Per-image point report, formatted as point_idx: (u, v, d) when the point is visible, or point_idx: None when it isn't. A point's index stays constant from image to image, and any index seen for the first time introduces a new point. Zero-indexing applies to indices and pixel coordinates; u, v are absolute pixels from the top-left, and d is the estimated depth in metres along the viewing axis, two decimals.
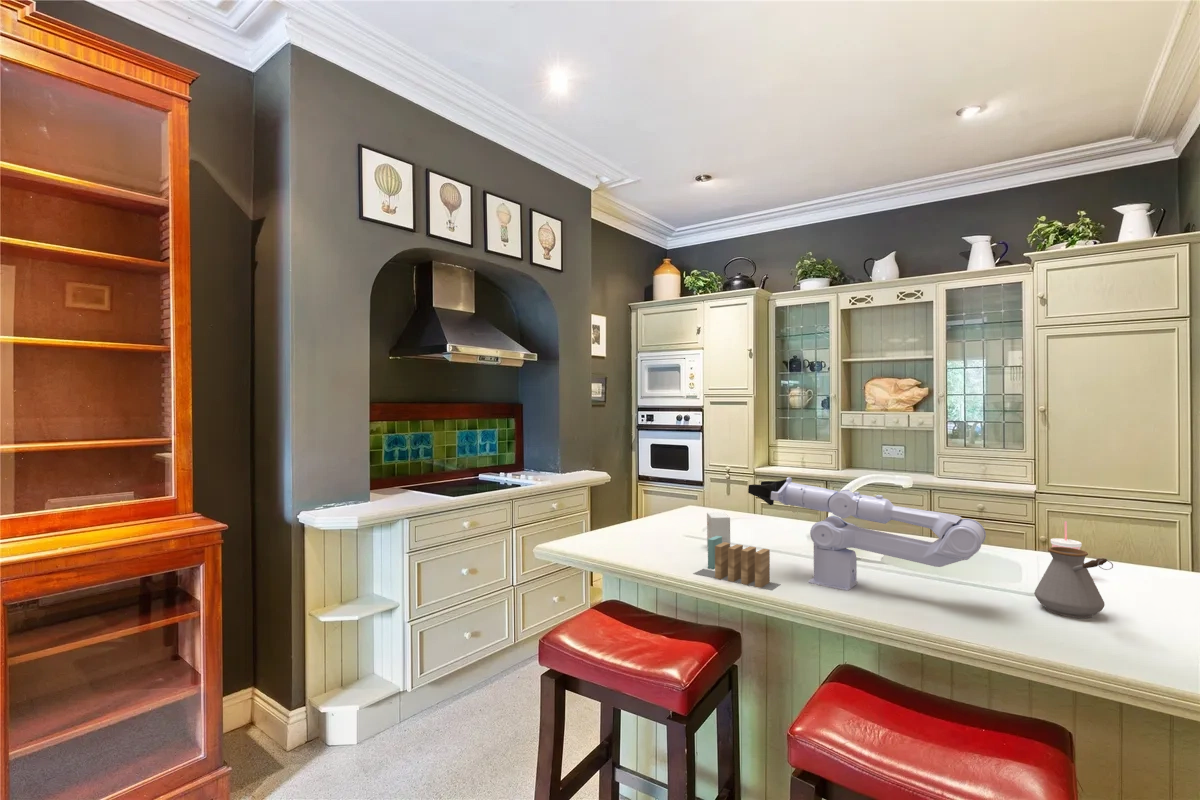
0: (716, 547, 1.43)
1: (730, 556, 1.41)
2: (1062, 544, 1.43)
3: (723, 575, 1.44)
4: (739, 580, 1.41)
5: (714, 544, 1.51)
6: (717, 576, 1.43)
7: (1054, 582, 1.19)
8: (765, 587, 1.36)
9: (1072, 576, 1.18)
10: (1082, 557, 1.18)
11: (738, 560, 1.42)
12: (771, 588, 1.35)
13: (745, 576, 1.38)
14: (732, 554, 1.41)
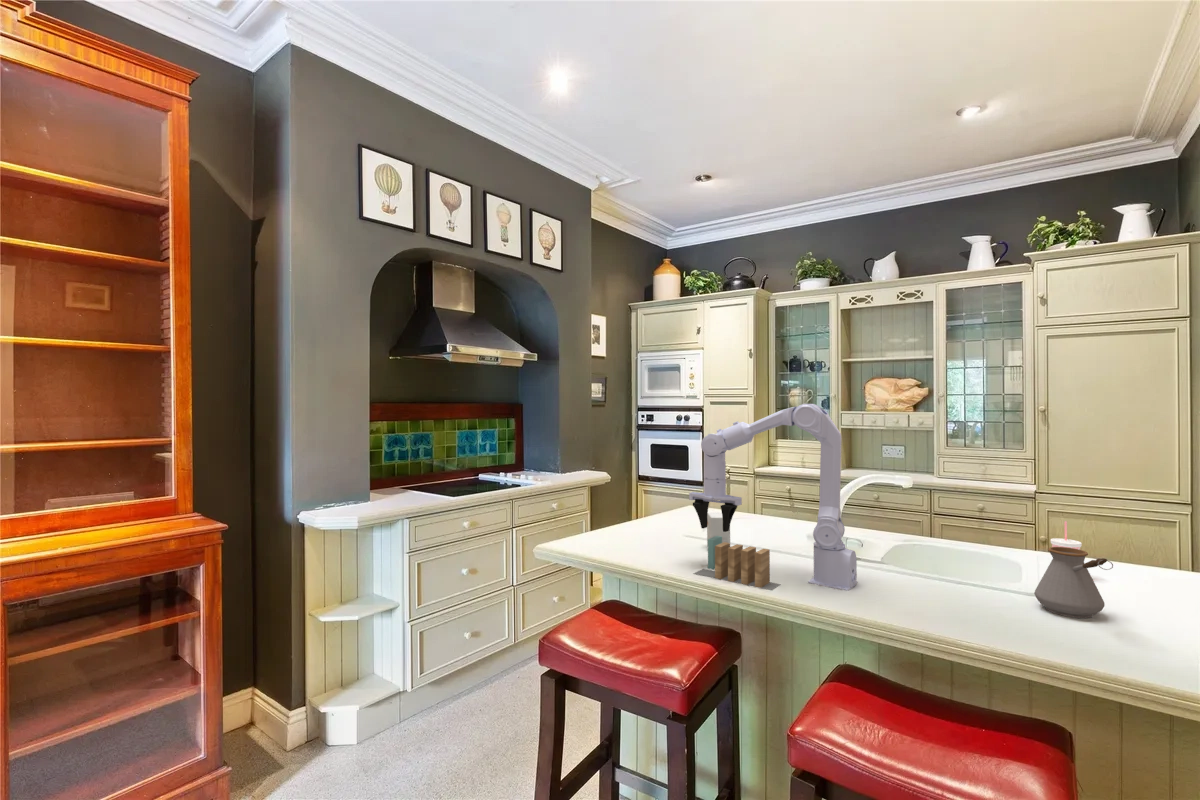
0: (716, 547, 1.43)
1: (730, 556, 1.41)
2: (1062, 544, 1.43)
3: (723, 575, 1.44)
4: (739, 580, 1.41)
5: (714, 544, 1.51)
6: (717, 576, 1.43)
7: (1054, 581, 1.19)
8: (765, 587, 1.36)
9: (1072, 576, 1.18)
10: (1082, 557, 1.18)
11: (738, 560, 1.42)
12: (771, 588, 1.35)
13: (745, 576, 1.38)
14: (732, 554, 1.41)
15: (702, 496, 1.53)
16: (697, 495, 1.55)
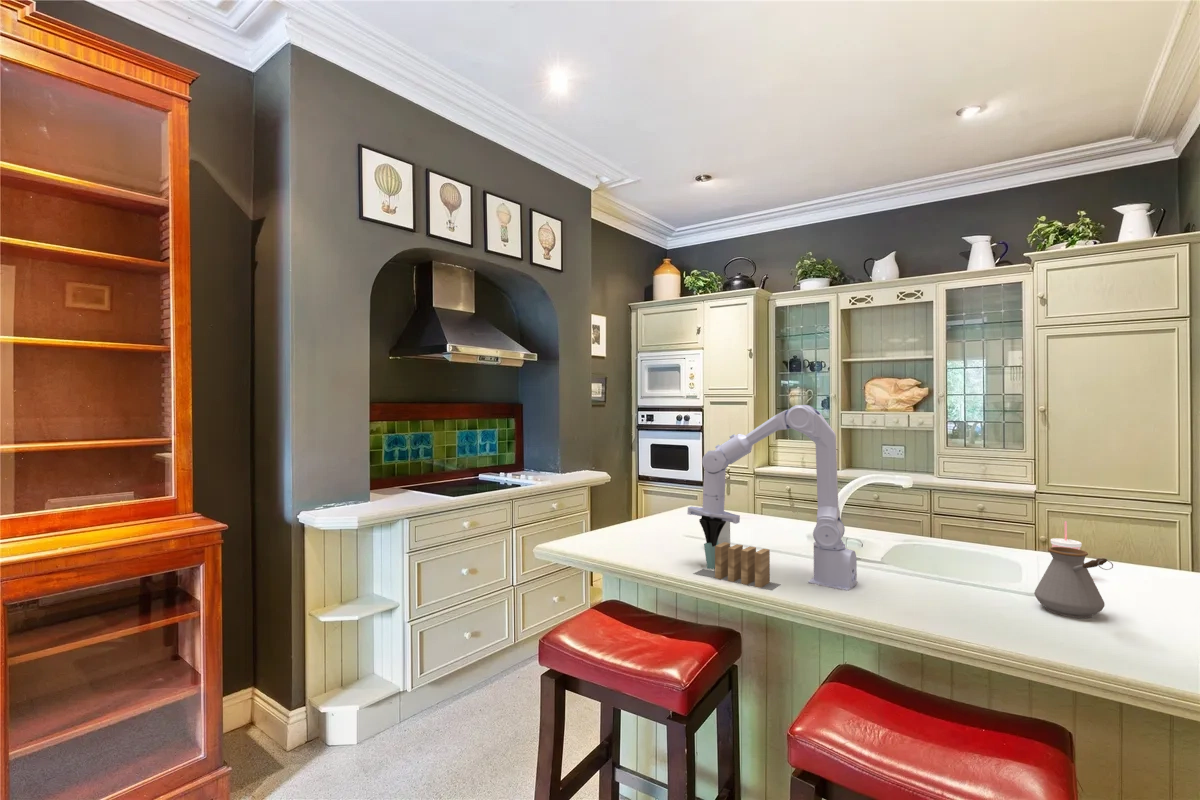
0: (716, 547, 1.43)
1: (730, 556, 1.41)
2: (1062, 544, 1.43)
3: (723, 575, 1.44)
4: (739, 580, 1.41)
5: (711, 548, 1.52)
6: (717, 576, 1.43)
7: (1054, 581, 1.19)
8: (765, 587, 1.36)
9: (1072, 576, 1.18)
10: (1082, 557, 1.18)
11: (738, 560, 1.42)
12: (771, 588, 1.35)
13: (745, 576, 1.38)
14: (732, 554, 1.41)
15: (700, 512, 1.54)
16: (695, 510, 1.55)
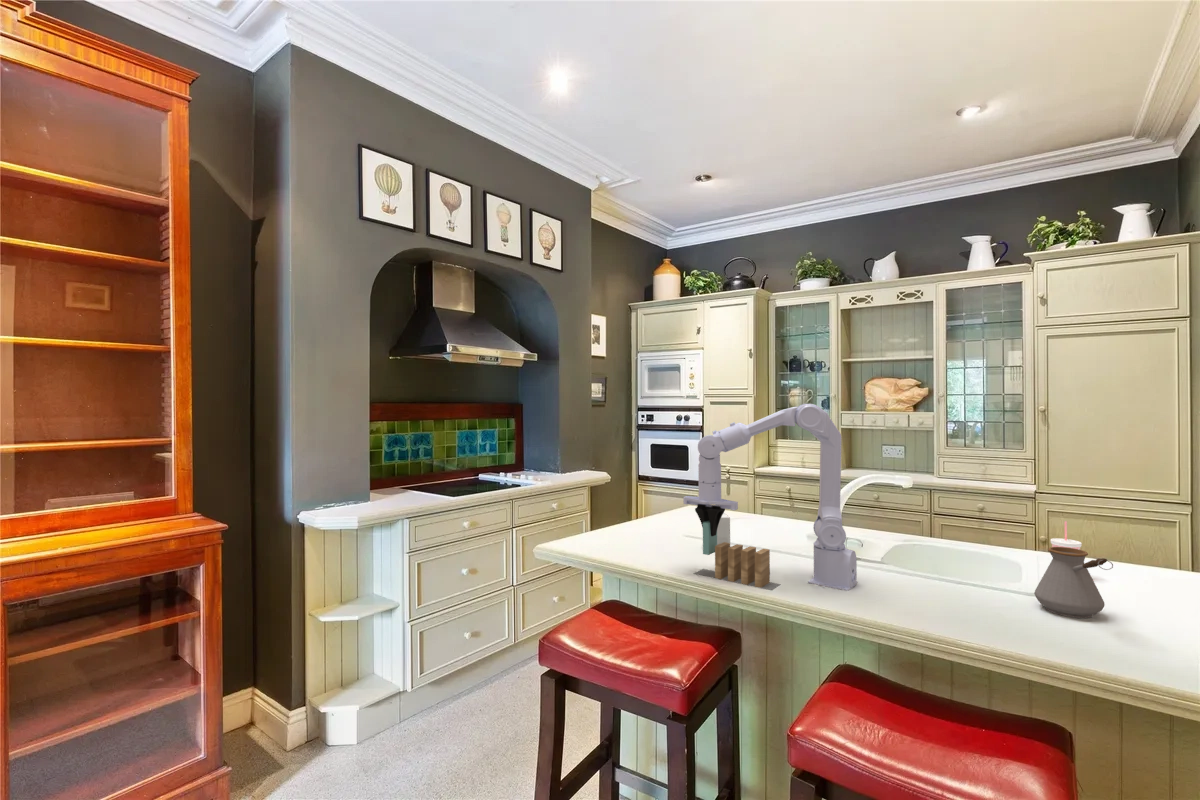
0: (716, 547, 1.43)
1: (730, 556, 1.41)
2: (1062, 544, 1.43)
3: (723, 575, 1.44)
4: (739, 580, 1.41)
5: (709, 527, 1.45)
6: (717, 576, 1.43)
7: (1054, 581, 1.19)
8: (765, 587, 1.36)
9: (1072, 576, 1.18)
10: (1082, 557, 1.18)
11: (738, 560, 1.42)
12: (771, 588, 1.35)
13: (745, 576, 1.38)
14: (732, 554, 1.41)
15: (697, 500, 1.47)
16: (691, 499, 1.49)
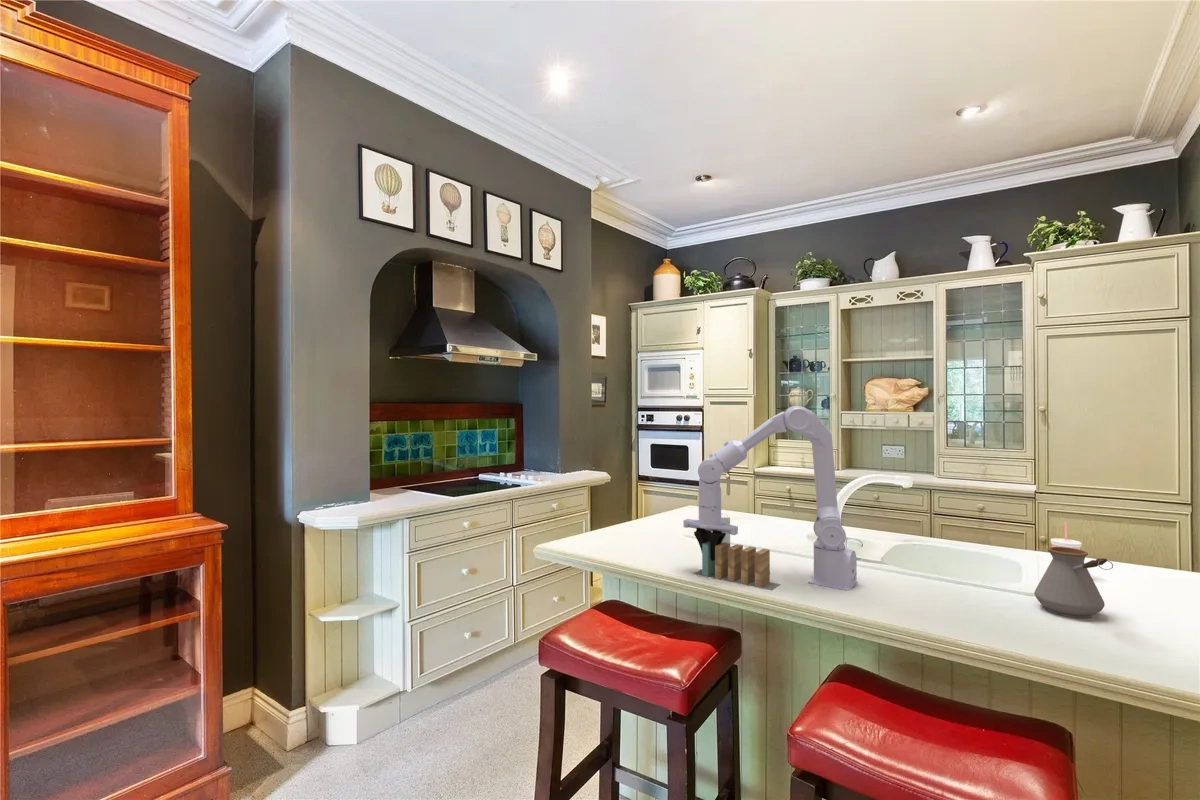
0: (716, 547, 1.43)
1: (730, 556, 1.41)
2: (1062, 544, 1.43)
3: (723, 575, 1.44)
4: (739, 580, 1.41)
5: (709, 549, 1.45)
6: (717, 576, 1.43)
7: (1054, 581, 1.19)
8: (765, 587, 1.36)
9: (1072, 576, 1.18)
10: (1082, 557, 1.18)
11: (738, 560, 1.42)
12: (771, 588, 1.35)
13: (745, 576, 1.38)
14: (732, 554, 1.41)
15: (697, 524, 1.47)
16: (691, 523, 1.49)
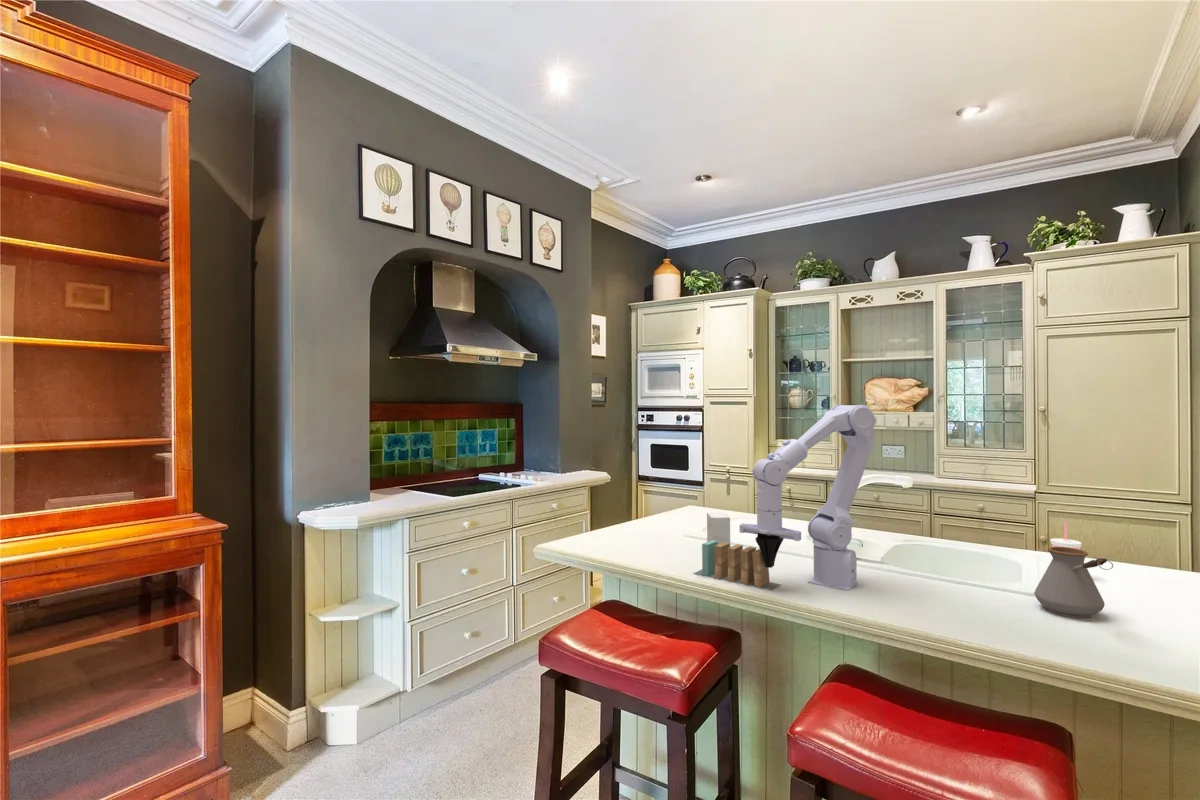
0: (716, 547, 1.43)
1: (730, 556, 1.41)
2: (1062, 544, 1.43)
3: (723, 575, 1.44)
4: (739, 580, 1.41)
5: (709, 549, 1.45)
6: (717, 576, 1.43)
7: (1054, 581, 1.19)
8: (765, 587, 1.36)
9: (1072, 576, 1.18)
10: (1082, 557, 1.18)
11: (738, 560, 1.42)
12: (771, 588, 1.35)
13: (745, 576, 1.38)
14: (732, 554, 1.41)
15: (755, 529, 1.37)
16: (749, 528, 1.39)
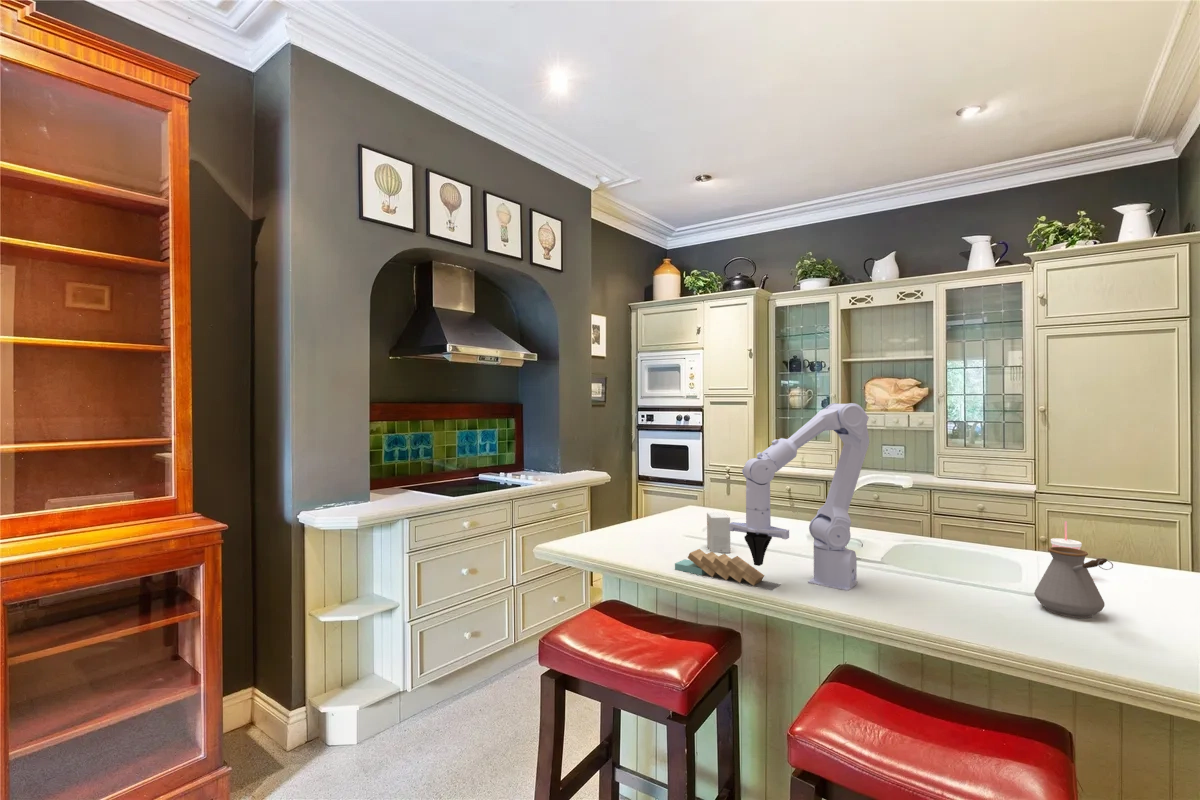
0: (689, 557, 1.48)
1: (707, 562, 1.45)
2: (1062, 544, 1.43)
3: None
4: None
5: (680, 563, 1.51)
6: (711, 573, 1.44)
7: (1054, 581, 1.19)
8: (765, 587, 1.36)
9: (1072, 576, 1.18)
10: (1082, 557, 1.18)
11: None
12: (771, 588, 1.35)
13: (735, 574, 1.40)
14: (706, 560, 1.45)
15: (744, 528, 1.39)
16: (738, 526, 1.40)
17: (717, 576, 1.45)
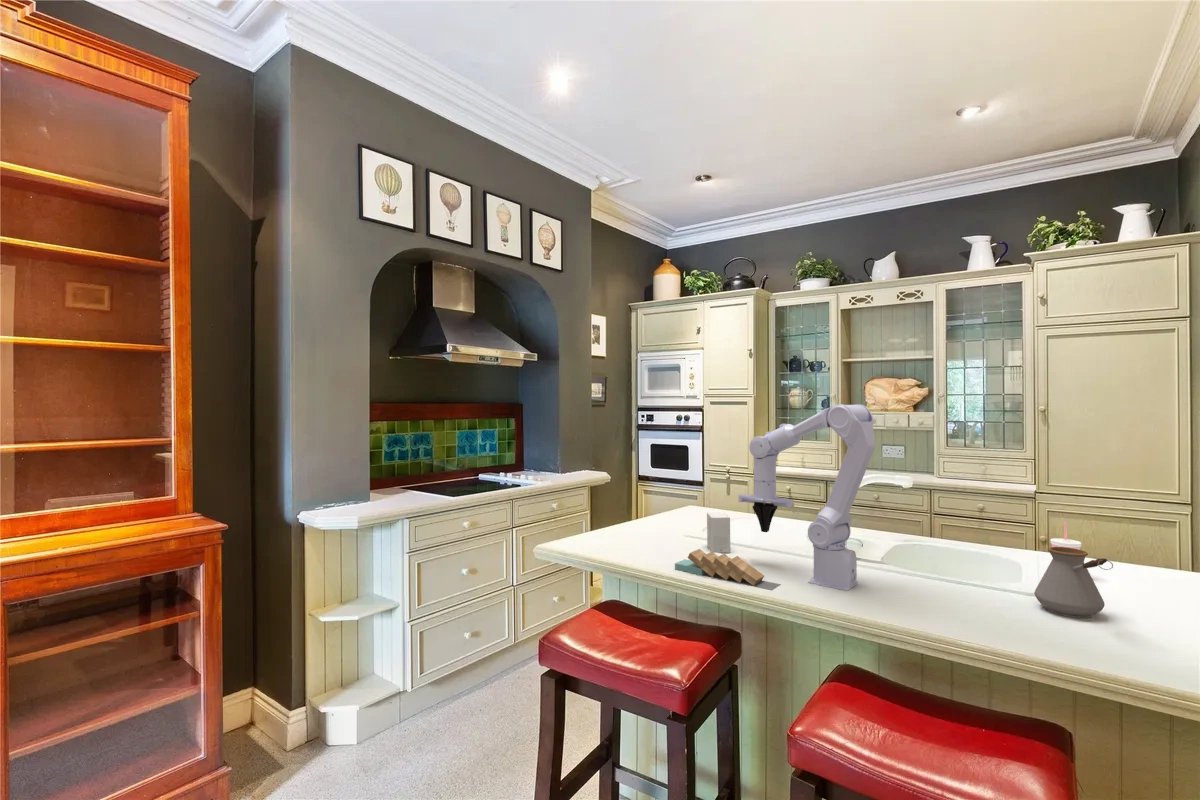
0: (689, 557, 1.48)
1: (707, 562, 1.45)
2: (1062, 544, 1.43)
3: None
4: None
5: (680, 563, 1.51)
6: (711, 573, 1.44)
7: (1054, 582, 1.19)
8: (765, 587, 1.36)
9: (1072, 576, 1.18)
10: (1082, 557, 1.18)
11: None
12: (771, 588, 1.35)
13: (735, 574, 1.40)
14: (706, 560, 1.45)
15: (752, 498, 1.54)
16: (747, 497, 1.56)
17: (717, 576, 1.45)
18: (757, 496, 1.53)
